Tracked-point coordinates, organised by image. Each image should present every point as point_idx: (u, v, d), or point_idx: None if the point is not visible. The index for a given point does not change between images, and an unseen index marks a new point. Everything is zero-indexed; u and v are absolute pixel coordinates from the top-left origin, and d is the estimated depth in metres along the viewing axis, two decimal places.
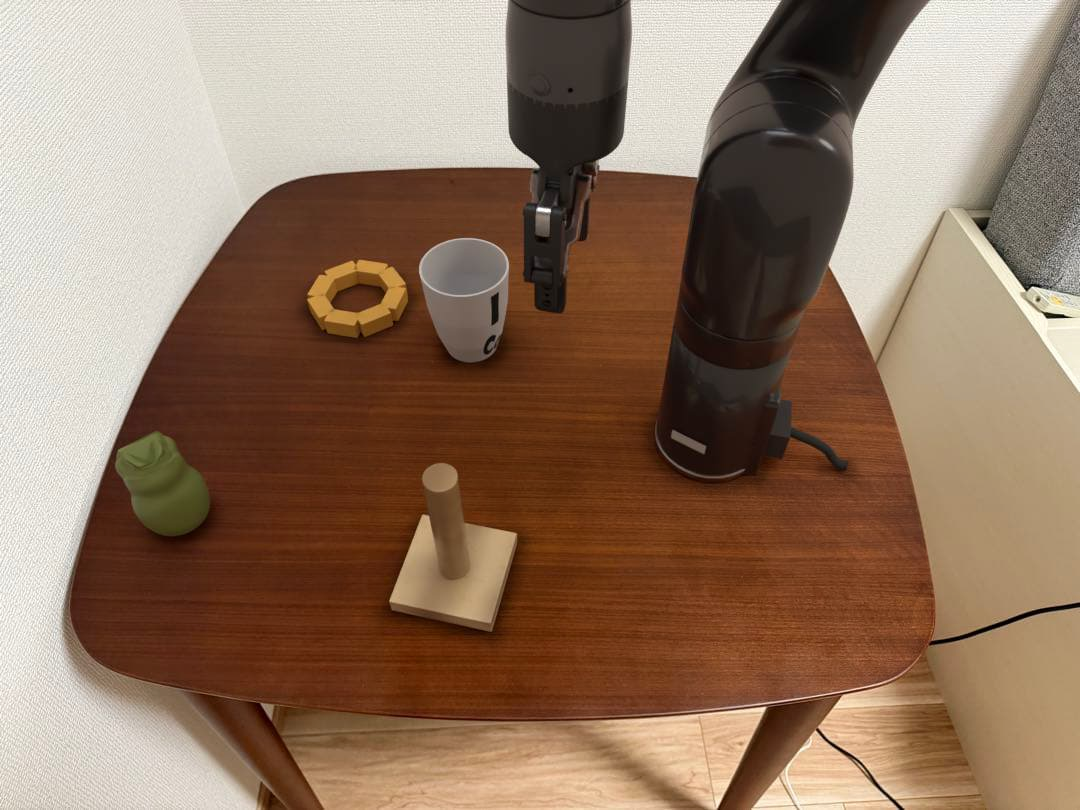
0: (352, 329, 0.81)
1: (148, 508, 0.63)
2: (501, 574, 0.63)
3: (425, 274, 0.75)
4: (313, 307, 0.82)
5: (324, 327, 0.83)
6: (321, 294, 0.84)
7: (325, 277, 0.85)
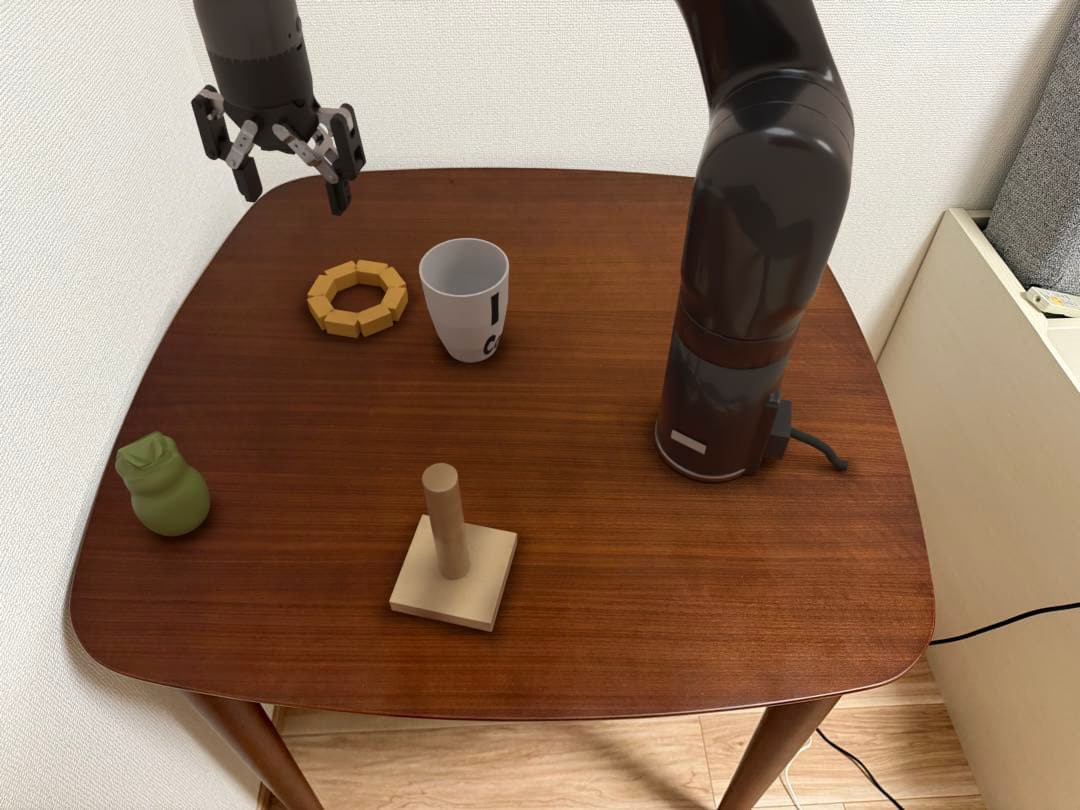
0: (352, 329, 0.81)
1: (147, 508, 0.63)
2: (501, 574, 0.63)
3: (425, 274, 0.75)
4: (313, 307, 0.82)
5: (324, 327, 0.83)
6: (321, 294, 0.84)
7: (325, 277, 0.85)
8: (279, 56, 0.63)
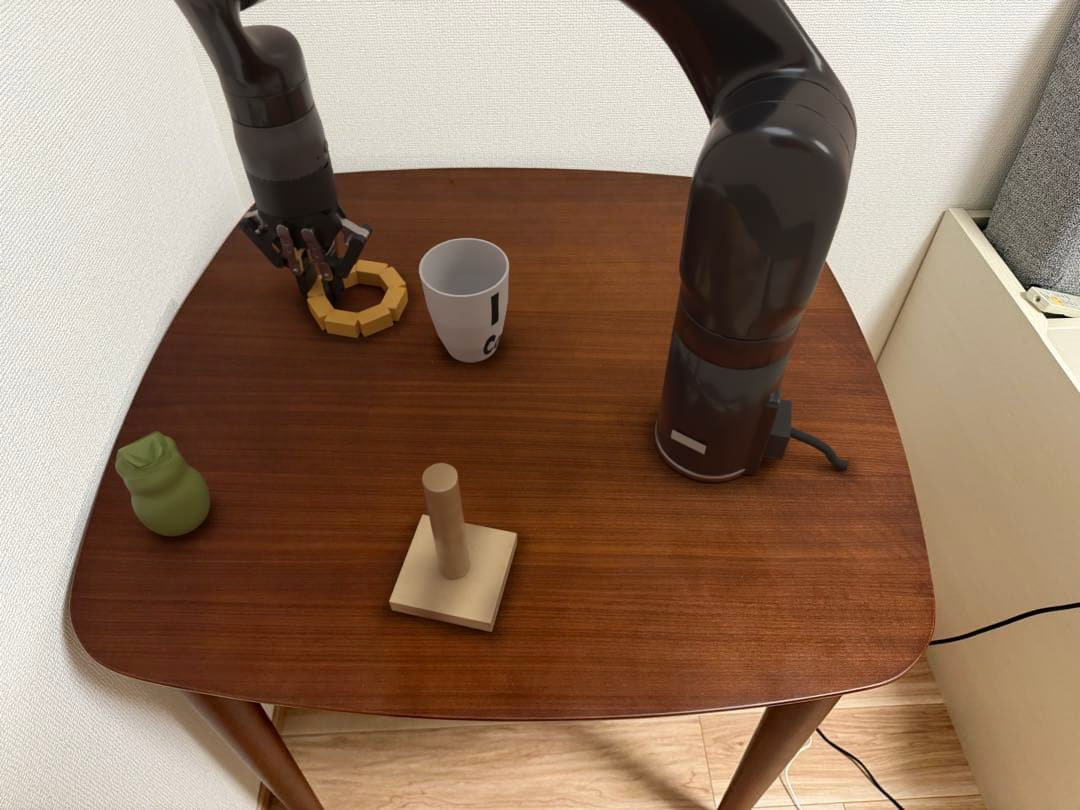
0: (352, 329, 0.81)
1: (148, 508, 0.63)
2: (501, 574, 0.63)
3: (425, 274, 0.75)
4: (313, 307, 0.82)
5: (324, 327, 0.83)
6: (321, 294, 0.84)
7: None
8: (309, 176, 0.71)
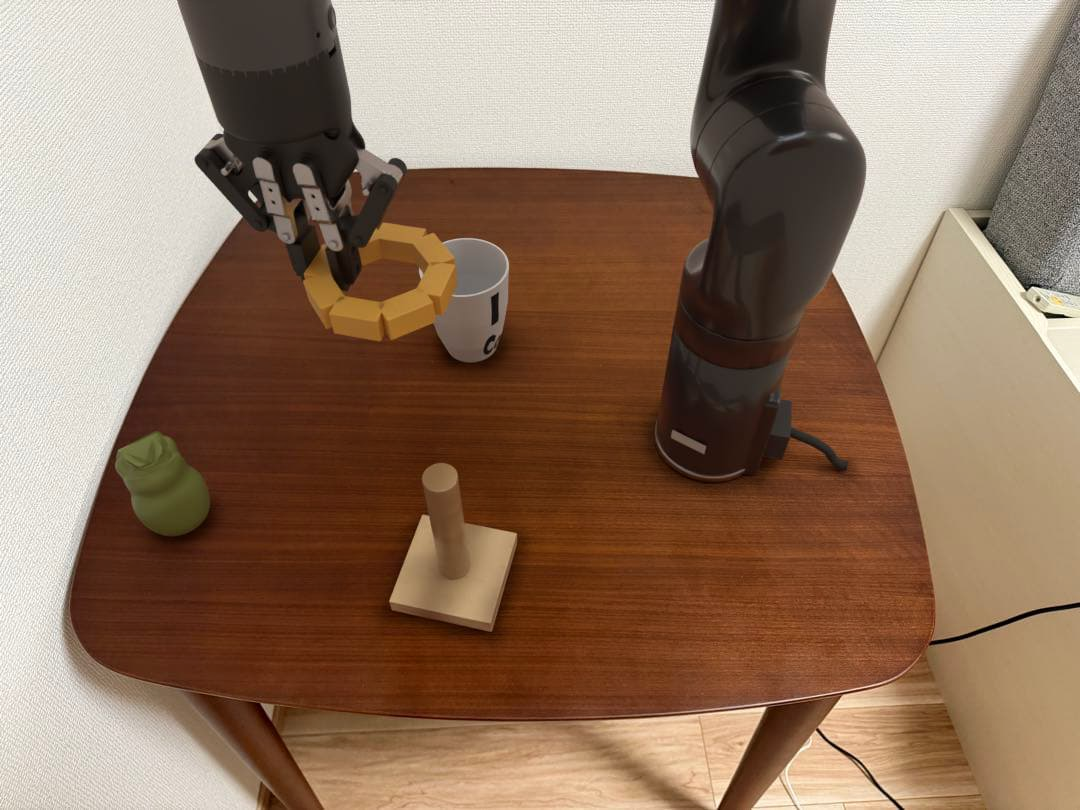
0: (373, 327, 0.52)
1: (148, 508, 0.63)
2: (501, 574, 0.63)
3: None
4: (312, 293, 0.53)
5: (329, 324, 0.53)
6: (325, 274, 0.54)
7: None
8: (303, 66, 0.42)
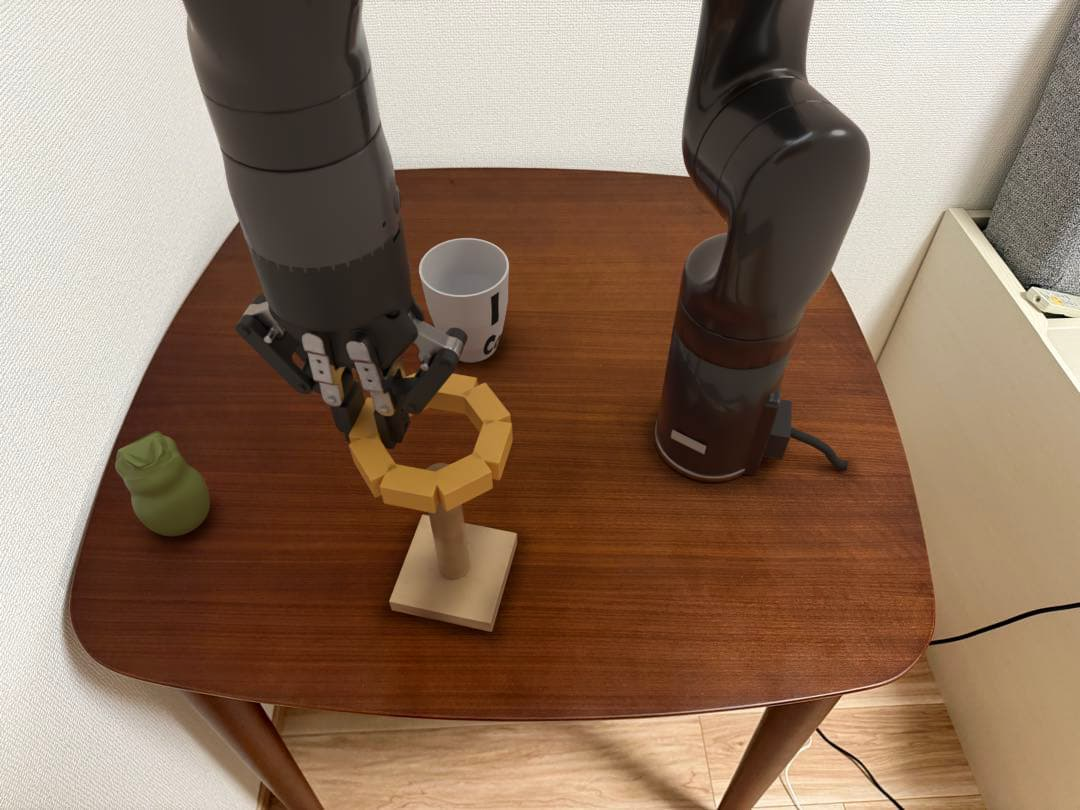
0: (428, 501, 0.48)
1: (147, 508, 0.63)
2: (501, 574, 0.63)
3: (425, 274, 0.75)
4: (360, 460, 0.49)
5: (378, 493, 0.49)
6: (372, 435, 0.50)
7: None
8: (367, 258, 0.38)
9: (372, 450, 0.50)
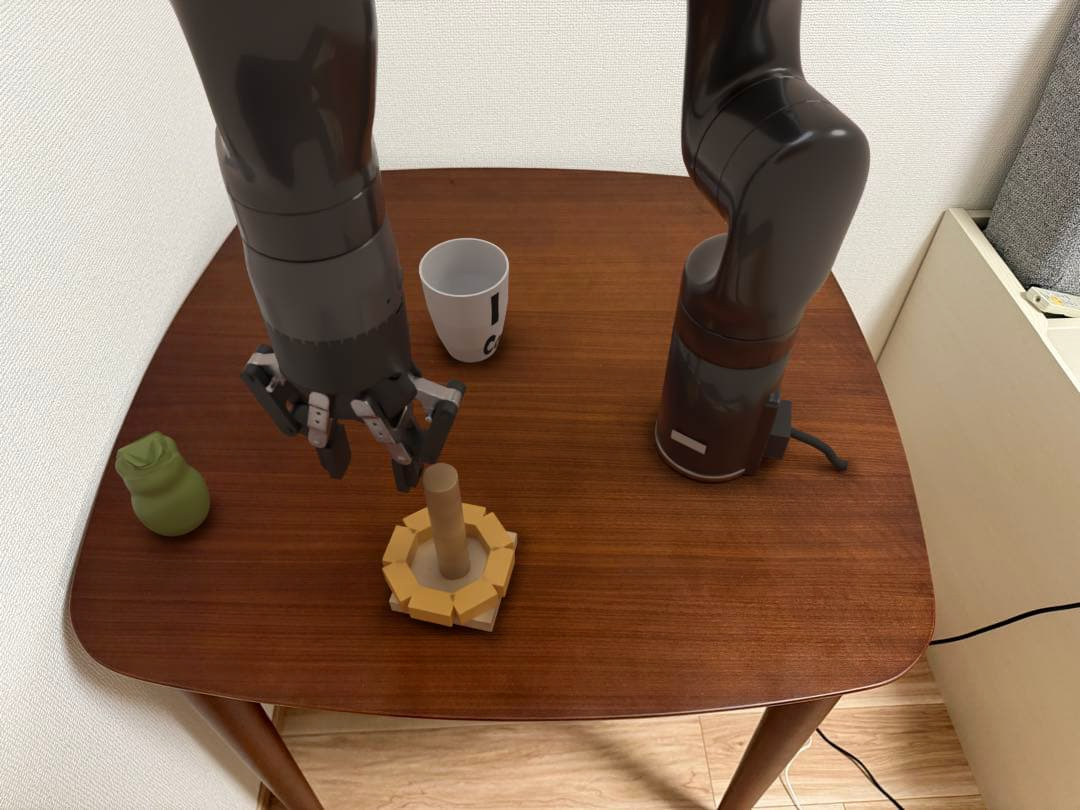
0: (446, 618, 0.60)
1: (147, 508, 0.63)
2: None
3: (425, 274, 0.75)
4: (391, 583, 0.61)
5: (406, 609, 0.61)
6: (400, 560, 0.62)
7: (404, 530, 0.64)
8: (372, 331, 0.42)
9: (401, 574, 0.61)
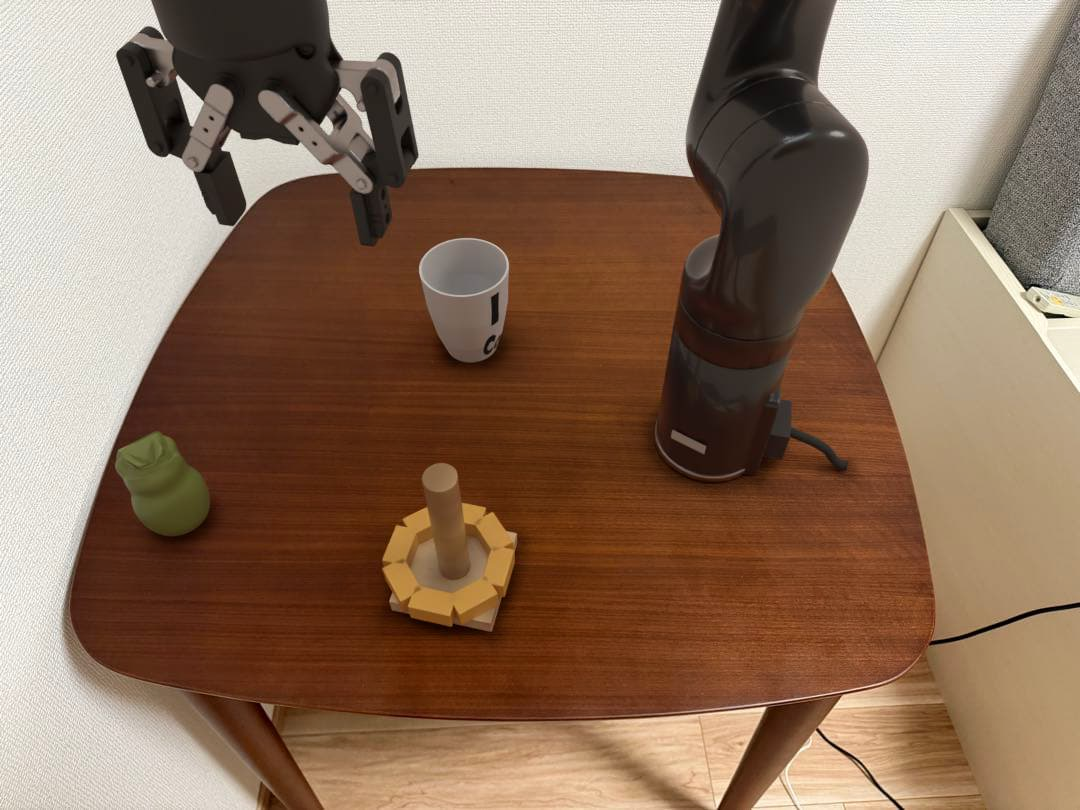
0: (446, 618, 0.60)
1: (148, 508, 0.63)
2: None
3: (425, 274, 0.75)
4: (391, 583, 0.61)
5: (406, 609, 0.61)
6: (400, 560, 0.62)
7: (404, 530, 0.64)
8: None
9: (401, 574, 0.61)
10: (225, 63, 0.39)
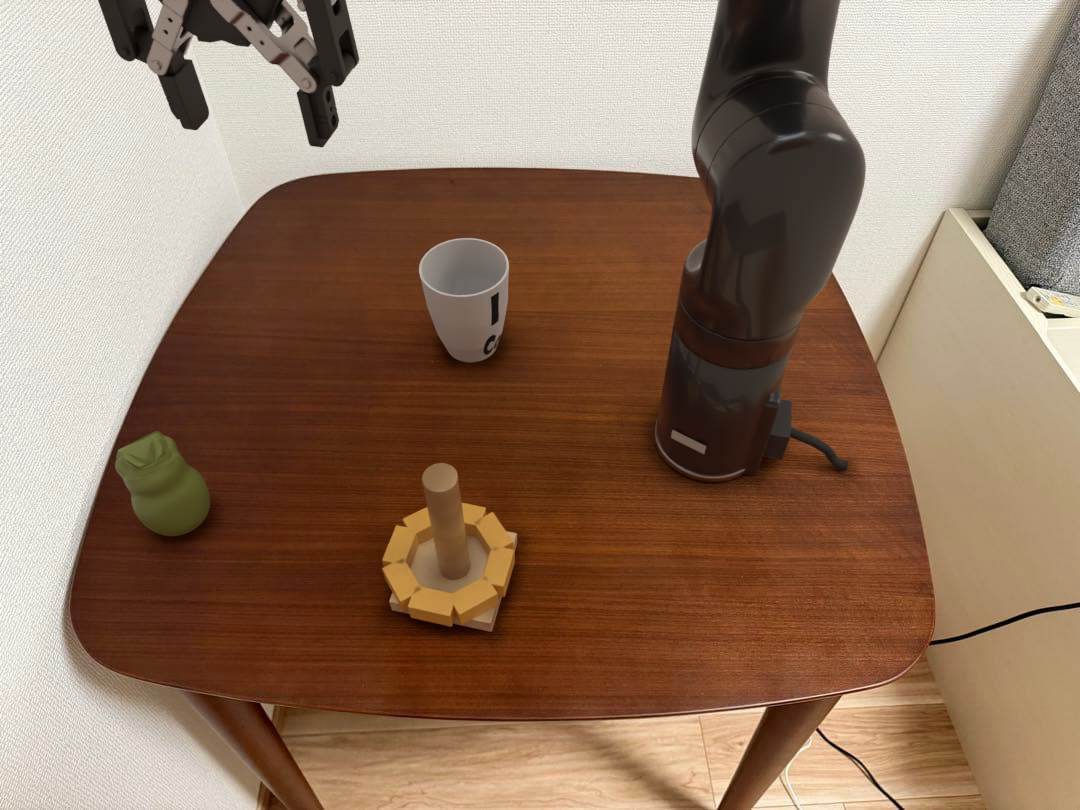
0: (446, 618, 0.60)
1: (148, 508, 0.63)
2: None
3: (425, 274, 0.75)
4: (391, 583, 0.61)
5: (406, 609, 0.61)
6: (400, 560, 0.62)
7: (404, 530, 0.64)
8: None
9: (401, 574, 0.61)
10: None
